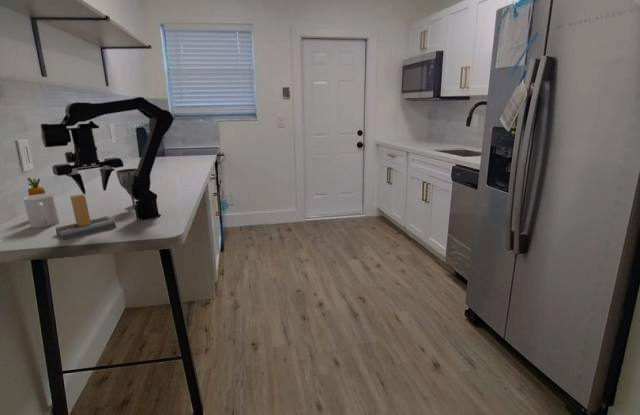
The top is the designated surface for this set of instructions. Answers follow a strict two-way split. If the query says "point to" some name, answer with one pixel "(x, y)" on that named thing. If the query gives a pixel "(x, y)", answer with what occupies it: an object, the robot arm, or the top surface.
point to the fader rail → (85, 228)
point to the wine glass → (122, 179)
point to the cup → (41, 210)
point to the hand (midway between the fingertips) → (94, 192)
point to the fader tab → (80, 210)
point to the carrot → (35, 187)
